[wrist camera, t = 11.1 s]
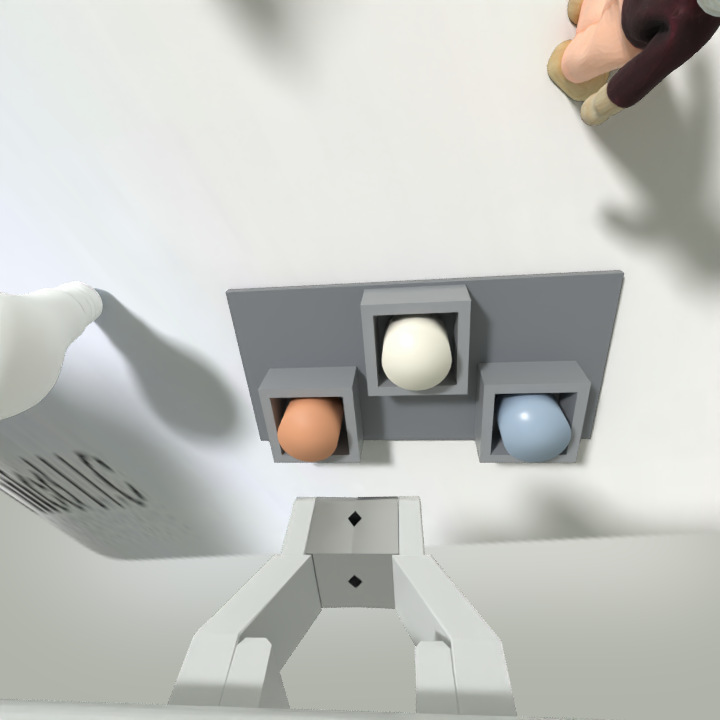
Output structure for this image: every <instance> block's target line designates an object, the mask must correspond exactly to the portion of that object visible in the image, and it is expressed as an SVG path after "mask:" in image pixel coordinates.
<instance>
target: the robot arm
mask: <svg viewBox="0 0 720 720" xmlns="http://www.w3.org/2000/svg"><path fill="white" fill-rule="evenodd" d="M398 506H399V508H398ZM330 607H331V608H337V607H367V608H389V609H395V611H396V613H397V614H398V616H399V618H400V620H401V622H402V623H403V625H404V627H405V628H406V630H407V632H408V634H409V636H410V637H411V639H412V641H413V643H414V645H415V646H416V647H415V676H416V713H399V712H396V713H395V712H370V711H341V710H312V709H311V710H310V709H290V706H289V703H288V700H287V696H286V692H285V689H284V686H283V682H282V679H281V675H280V670H281V669H282V667H283V666H284V664H285V663H286V662H287V660H288V659H289V657H290V656H291V654H292V653H293V651H294V650H295V648H296V647H297V645H298V644H299V643H300V641H301V640H302V638H303V637H304V635H305V634H306V632H307V631H308V629H309V628H310V626H311V625H312V623H313V622H314V621H315V619H316V618H317V616H318V615H319V613H320V612H321V608H330ZM0 720H599V719H569V718H541V717H517V713H516V708H515V704H514V698H513V694H512V689H511V684H510V680H509V675H508V670H507V666H506V661H505V656H504V652H503V647H502V642H501V640H500V639H499V638H498V636H497V635H496V634H495V633H494V632H493V630H492V629H491V628H490V627H489V625H488V624H487V623H486V622H485V621H484V619H483V618H482V617H481V616H480V615H479V613H478V612H477V611H476V610H475V608H474V607H473V606H472V605H471V603H470V602H469V601H468V600H467V598H466V597H465V596H464V595H463V593H462V592H461V591H460V590H459V589H458V587H457V586H456V585H455V584H454V582H453V581H452V580H451V579H450V577H449V576H448V575H447V574H446V573H445V571H444V570H443V569H442V568H441V566H440V565H439V564H438V563H437V561H436V560H435V559H434V558H433V557H432V556H431V555H425V551H424V538H423V526H422V513H421V501H420V497H419V496H401V497H358V498H346V497H297V498H296V499H295V501H294V503H293V507H292V511H291V515H290V519H289V523H288V527H287V531H286V535H285V539H284V543H283V547H282V551H281V554H277V555H273V556H272V557H271V558H270V560H268V561H267V563H265V564H264V566H263V567H261V569H260V570H258V571H257V572H256V573H255V574H254V575H253V576H252V577H251V578H250V579H249V581H247V582H246V583H245V584H244V585H243V586H242V587H241V588H240V589H239V590H238V591H237V592H236V593H235V594H234V595H233V596H232V597H231V598H230V599H229V600H228V601H227V602H226V603H225V604H224V605H223V606H222V607H221V608H220V609H219V610H218V611H217V612H216V613H215V614H214V615H213V616H212V617H211V618H210V619H209V620H208V621H207V622H206V623H205V624H204V625H203V626H202V627H201V628H200V629H199V630H198V631H197V632H196V633H195V634H194V637H193V639H192V642H191V644H190V647H189V650H188V652H187V655H186V657H185V660H184V663H183V665H182V668H181V670H180V673H179V676H178V678H177V681H176V683H175V686H174V689H173V691H172V694H171V696H170V699H169V702H168V704H167V705H165V704H135V703H106V702H76V701H48V700H18V699H0Z"/></svg>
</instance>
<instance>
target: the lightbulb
mask: <svg viewBox="0 0 720 720" xmlns="http://www.w3.org/2000/svg"><path fill="white" fill-rule="evenodd" d="M102 310H103V305H102V300H101V297H100V296H99V294H98V293H97V292H96V290H95V289H93V288H92V287H91V286H89V285H87V284H85V283H83V282H78V281H73V282H69V283H66V284H63V285H61V286H58V287H56V288H44V289H40V290H37V291H35V292H32V293H27V294H21V295H14V294H8V293H2V292H0V420H1V419H5V418H9V417H12V416H15V415H17V414H19V413H21V412H23V411H25V410H27V409H29V408H31V407H33V406H34V405H36V404H37V403H38V402H40V401H41V400H42V399H43V398H44V397H45V396H46V395H47V394H48V393H49V391H50V390H51V389H52V388H53V386H54V385H55V383H56V381H57V379H58V377H59V374H60V371H61V368H62V365H63V361H64V356H65V352H66V350H67V348H68V347H69V346H70V344H71V343H72V342H73V341H74V340H75V339H77V338H78V337H79V336H80V335H81V334H82V333H83V332H84V330H85V328H86V326H88V325H89V324H90V323H92V322H93V321H94V320H96V319H97V318H98V317H99V316H100V315H101V313H102Z"/></svg>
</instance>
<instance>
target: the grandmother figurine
mask: <svg viewBox="0 0 720 720" xmlns="http://www.w3.org/2000/svg"><path fill="white" fill-rule="evenodd" d="M567 11H568V16H569V18H570V20H571V21H572V22H573V23H575V24H577V29H576V36H575V38H574V39H573V40H567V41H564V42H562V43H561V44H560V45H558V46H557V47H556V49H555V50H554V52H553V53H552V55H551V57H550V59H549V61H548V65H547V71H548V75H549V77H550V78H551V79H552V80H553V81H554V82H555V83H556V84H557V85H558V86H559V87H560V88H561V89H562V90H563V91H564V92H565V93H566V94H567V95H568V96H569V97H571V98H572V99H573V100H576V101H585V102H584V103H583V105H582V106H581V118H582V120H583V121H584V122H585V123H586V124H588V125H590V126H594V125H599V124H602V123H603V122H604V121H606V120H607V119H608V118H609V116H612V115H615V114H617V113H618V112H620V111H621V110H623V109H624V108H628V107H630V106H632V105H634V104H635V103H637V102H638V101H639V100H641V99H642V98H643V97H644V96H645V95H646V94H648V93H649V92H650V91H651V90H652V89H653V88H654V87H655V86H656V85H657V84H658V83H660V82H661V81H662V80H663V79H664V78H665V77H666V76H667V75H669V74H670V73H671V72H672V71H674V70H675V69H677V68H678V67H679V66H681V65H682V64H683V63H685V62H686V61H687V60H688V59H690V58H691V57H692V56H693V55H694V54H695V53H696V52H698V51H699V50H700V49H701V48H702V47H703V46H704V45H705V44H706V43H707V42H708V41H709V40H710V38H711V37H712V36H713V35H714V33H715V32H716V30H717V29H718V27H719V26H720V0H569V3H568V8H567ZM621 67H622V68H621ZM618 68H621V69H620V70H619V71H618V72H617V73H616V74H615V75H614V76H613V77H612V78H611V80H610V81H609V82H608V83H606V81H607V79H608V77H609V73H610V71H612V70H616V69H618ZM605 83H606V84H605Z"/></svg>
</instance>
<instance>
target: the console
mask: <svg viewBox="0 0 720 720" xmlns="http://www.w3.org/2000/svg"><path fill="white" fill-rule="evenodd" d="M623 276H624V273H623V272H622V271H621V270H613V271H593V272H573V273H553V274H533V275H512V276H492V277H472V278H452V279H432V280H412V281H391V282H371V283H351V284H331V285H311V286H290V287H270V288H250V289H230V290H228V291H227V292H226V296H227V300H228V304H229V308H230V312H231V317H232V321H233V325H234V329H235V334H236V338H237V342H238V346H239V350H240V355H241V359H242V363H243V367H244V371H245V376H246V380H247V384H248V388H249V392H250V397H251V401H252V405H253V409H254V413H255V418H256V422H257V426H258V430H259V435H260V439H261V441H270V445H271V449H272V454H273V458H274V463H360V459H361V452H362V445H363V440H451V439H475V442H476V447H477V452H478V457H479V461H480V463H576V459H577V454H578V449H579V443H580V439H590V437H591V432H592V427H593V422H594V417H595V413H596V408H597V403H598V398H599V393H600V388H601V383H602V378H603V374H604V369H605V364H606V359H607V354H608V349H609V344H610V340H611V335H612V330H613V325H614V320H615V315H616V310H617V305H618V301H619V296H620V291H621V286H622V281H623ZM424 313H436V314H437V315H438V316H439V317H440V318H441V319H442V320H443V322H444V324H445V326H446V330H447V335H448V340H449V345H450V351H451V356H452V363H451V368H450V370H449V373H448V374H447V376H446V377H445V378H444V379H443V380H442V381H441V382H440V383H439V384H437V385H436V386H434V387H432V388H429V389H426V390H418V391H415V390H407V389H404V388H401V387H399V386H397V385H396V384H394V383H393V382H392V381H391V380H390V379H389V378H388V377H387V376H386V374H385V372H384V370H383V367H382V352H383V343H384V333H385V329H386V326H387V324H388V322H389V320H390V319H391V318H392V317H393V316H394V315H399V314H424ZM511 393H552V394H553V395H554V397H555V399H556V401H557V403H558V405H559V407H560V409H561V411H562V412H563V414H564V416H565V418H566V420H567V422H568V424H569V426H570V429H571V439H570V442H569V444H568V445H567V447H566V448H565V449H564V450H563V451H562V452H561V453H560V454H559V455H557V456H556V457H554V458H552V459H549V460H546V461H542V462H525V461H521V460H519V459H516V458H514V457H513V456H512V455H510V454H509V453H508V451H507V450H506V448H505V446H504V443H503V440H502V437H501V433H500V430H499V426H498V423H497V420H496V416H495V413H494V404H495V401H496V399H497V397H498V395H499V394H511ZM291 397H339V398H340V400H341V402H342V404H343V407H344V416H343V420H342V425H341V429H340V434H339V439H338V443H337V447H336V449H335V451H334V452H333V454H332V455H331V456H329V457H328V458H326V459H324V460H321V461H317V462H306V461H301V460H298V459H296V458H294V457H292V456H290V455H289V454H288V453H286V452H285V451H284V450H283V448H282V447H281V445H280V443H279V441H278V436H277V432H278V428H279V426H280V423H281V421H282V418H283V416H284V414H285V411H286V409H287V406H288V404H289V402H290V399H291Z"/></svg>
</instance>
